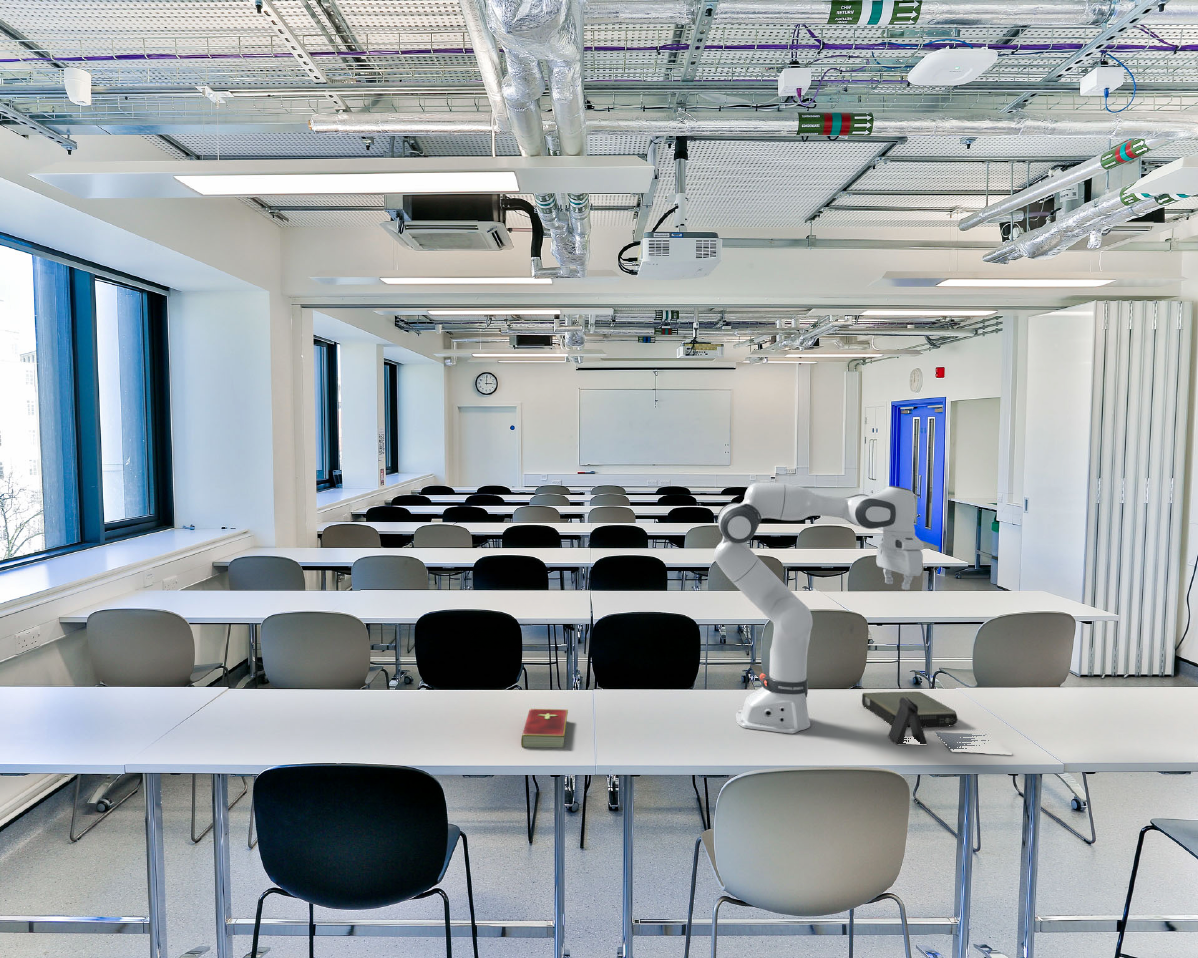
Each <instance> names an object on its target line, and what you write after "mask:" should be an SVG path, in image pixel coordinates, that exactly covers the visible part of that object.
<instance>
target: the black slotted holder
mask: <svg viewBox="0 0 1198 958" xmlns="http://www.w3.org/2000/svg"><path fill="white" fill-rule="evenodd" d="M906 699H908V698H907V697H906ZM906 699H905V698H904V697H902V698H901V699H900V701H899V703H900V706H899V710H898V712H897V715H896V717H895V720H894V722H893V725H892V726H891V727H890V730H889V732H888V735H887V737H888V738H889V737H890V738H889V739H890V740H891V739H892V740H893V741H892V740H891V741H892V742H893V743H894V742H895V743H896V744H906V743H903V742H904V741H906V742H907V740H904V739H907V738H904V737H905V736H906V733H907V729H908V727H907V726H908V723H910V727H909V728H910V732H911V736H913V737H914V739H916V740H917V741H918V742H920V744H927V745H928V741H927V739H926V736H925V733H924V731H923V730H924V729H923V726H921V723H920V720H919V717H918V706H917V705H916V704H915V703H913V702H912V701H911V700H910V699H908V701H907V700H906ZM908 739H909V738H908ZM910 739H911V738H910ZM908 742H909V740H908ZM895 743H894V744H895ZM896 744H895V745H896Z"/></svg>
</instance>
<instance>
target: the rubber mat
mask: <svg viewBox="0 0 1198 958" xmlns="http://www.w3.org/2000/svg"><path fill="white" fill-rule="evenodd" d="M935 733H936V734H937V736H938V737H940V739H942V741H943V742H945V744H947V746H948V747H950V749H953V750H954V749H964V748H962V746H975V745H967V744H971V743H962V742H972V741H974V742H975V741H978V740H971V739H975V738H963V737H972V736H973V737H974V736H976V737H977V736H982V735H972V734H973V733H966V732H965V733H963V732H946V731H941V732H940V731H934V734H935ZM985 735H986V734H985ZM985 735H983V736H985ZM937 736H936V737H937ZM938 737H937V738H938ZM960 737H961V738H960ZM940 739H939V740H940ZM942 741H941V742H942ZM981 741H986V740H981ZM988 741H989V740H988ZM943 742H942V743H943ZM957 742H958V743H957ZM959 742H961V743H959ZM945 744H944V745H945ZM964 744H965V745H964ZM984 744H985V743H984ZM947 746H946V747H947ZM960 746H961V748H959V747H960ZM976 746H977V745H976ZM979 746H980V745H979ZM957 747H958V748H957ZM965 749H967V748H965Z"/></svg>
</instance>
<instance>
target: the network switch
mask: <svg viewBox="0 0 1198 958" xmlns="http://www.w3.org/2000/svg"><path fill="white" fill-rule="evenodd" d="M902 697H904V698H905V699H906V697H907V698H908V699H910V700H911V701H912V702H913V703H915V704H916V705H917V706H918V717H919V720H920V723H921V726H922V727H944V726H949V725H953V726H955V725H956V724H957V722H958V715H957V712H956V710H954V709H952V708H950V707H949V706H947V705H945V704H943V703H942V702H940V701H938V700H936V699H934V698H933V697H931V696H929V695H927V694H925V693H923V692H921V691H889V692H888V691H887V692H885V691H883V692H878V691H877V692H863V693H862V695H861V698H862V699H861V704H862V706H863V708H865V707H866V708H865V709H867V710H868V711H871V712H872V713H873V712H874V713H873V714H875V715H877V716H878V717H879V718H881V719H882V720H883V721H884V722H885V721H886V722H885V723H886V724H888V723H889V724H888V725H890V726H891V727H892V725H893V722H894V720H895V717H896V715H897V712H898V710H899V706H900V703H899V701H900V699H901V698H902ZM908 699H906V700H907V701H908ZM907 728H911V727H910V723H908V726H907Z"/></svg>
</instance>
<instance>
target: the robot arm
mask: <svg viewBox="0 0 1198 958" xmlns="http://www.w3.org/2000/svg"><path fill="white" fill-rule="evenodd" d="M743 497H744V499H743V501H742V502H740V503H739V502H730V503H727V504H725V505H723V507H722V508H721V509H720V510H719V512H718V513H717V514H718V516H717V525H718V526H717V527H718V529H719V531H720V536H721V538H722V539H721V541H720V542H719V543H718V544H717V546H716V547H715V549H714V552H713V558H714V561H715V562H716V564H717V565H718V567H719V568H720V570H721V571H722V573H724V575H725V576H726V577H727V578H728V580H730V582H731V583H732V584H733V585H734V586H735V587H736V588H737V589H738V590H739V591H740V592H741V593H742V594H743V595H744V596H745V597H746V598H747V599H748V600H749V601H750V602H752V604H753V605H754V606H755V607H756V608H757V609H758V610H760V611H761V612H762V613H763V615H765V617H766V618H768V620H769V621H770V622H771V623H772V624H773V633H772V641H771V645H770V649H769V674H768V675H766V674H765V673H760V675H759V679H760V681H761V683H762V687H760V688H758V689H757V690H756V691H754V692H752V693H750V694H749V695H747V696H746V698H745V700H744V703H743V708H742V709H739V710H738V711H737V712H736V713H735V720H736V721H735V722H737V724H738V725H739V726H741V727H742V728H743V729H751V730H758V731H759V730H760V731H765V732H767V731H768V732H776V733H783V734H796V733H797V732H799V731H804V730H806V729H809V728H810V727H811V724H812V723H811V721H810V716H809V711H808V702H807V701H808V700H807V697H808V693H809V683H808V682H809V681H808V678H807V665H808V661H807V660H808V651H809V644H810V641H811V640H810V639H811V634H812V629H813V625H814V624H813V623H814V621H813V615H812V612H811V611H810V609H809V607H808V606H807V604H804V603H803V601H802V600H800V599H799V597H797V596H796V595H795V594H794V592H792V590H791V589H789V588H788V587H787V585H786V584H785V583H784V582H783V581H782V580H781V579H780V578H779V577H778V576H777V575H776V573H774V572H773V571H772V569H770V568H769V567H768V566H767V564H765V563H764V562H763V561H762V560H761V558H760V557H758V556H757V554H756V553H754V551H753V550H751V548H750V547H749V545H748V542H749V541H750V540H751V539H752V538H753V537H754V536H755V534H756V533H757V530H758V528H759V525H760V524H761V522H762V519H773V520H774V519H775V520H781V521H801V520H804V519H807V518H808V517H812V516H823V517H825V516H826V517H831V518H840V519H844V520H845V521H846V522H849V523H850V524H852V525H854V526H857V527H861V528H863V529H866V530H867V529H868V530H874V529H880V528H883V529H882V531H883V533H882V538H881V540H880V541H879V544H878V545H877V549H876V551H877V552H876V559H875V562H876V566H877V567H878V568H883V569H882V570H883V574H884V578H885V579H884V583H886V584H888V585H893V584H894V578H893V577H892V572H895V573H899V574H901V575H903V582H901V589H902V590H905V591H906V590H907V591H908V590H910V589H911V583H912V581H913V579H914V577H920V576H921V574H922V572H923V562H924V561H923V560H924V558H923V557H924V555H923V551H922V550H924V549H925V548H924V547H925V543H924V542H923V541H922V540H921V539H919V538H918V537H917V535H916V529H915V525H914V524H915V523H914V522H915V519H916V513H917V512H916V511H917V510H916V498H915V493H914V492H913V491H912V490H911V489H909V488H908V487H907V488H906V487H902V486H896V485H888V486H887V487H886V488H883V490H880V491H879V492H877V493H874V494H871V495H869V494H868V495H867V494H864V493H859V494H854V495H851V496H847V497H839V496H838V497H837V496H829V495H820V494H818V493H814V492H812V491H811V490H809V489H807V488H805V487H802V486H798V485H795V484H790V483H785V482H784V483H783V482H782V483H781V482H768V481H767V482H754V483H751V484H750V485H749V486H748V487H747V489H746V491H745V493H744V496H743Z"/></svg>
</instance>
